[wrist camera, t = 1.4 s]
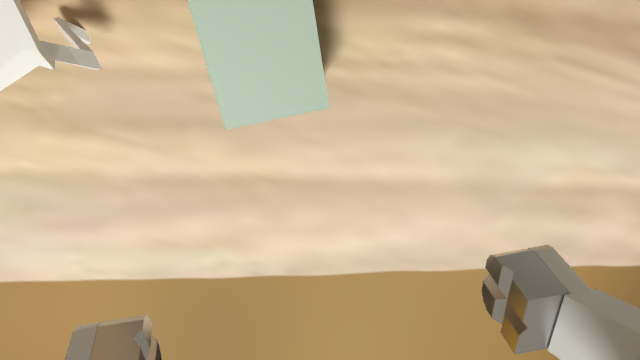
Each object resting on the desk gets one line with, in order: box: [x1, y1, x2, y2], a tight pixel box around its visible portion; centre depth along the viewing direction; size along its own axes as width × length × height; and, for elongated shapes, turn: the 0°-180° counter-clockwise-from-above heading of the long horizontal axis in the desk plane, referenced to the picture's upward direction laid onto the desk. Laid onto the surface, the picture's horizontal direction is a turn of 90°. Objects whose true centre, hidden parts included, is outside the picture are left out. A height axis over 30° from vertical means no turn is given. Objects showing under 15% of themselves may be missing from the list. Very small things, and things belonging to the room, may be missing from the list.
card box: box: [187, 0, 329, 130], centre depth 28 cm, size 6×9×4 cm, turn 8°
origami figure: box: [0, 0, 102, 91], centre depth 24 cm, size 12×8×5 cm
